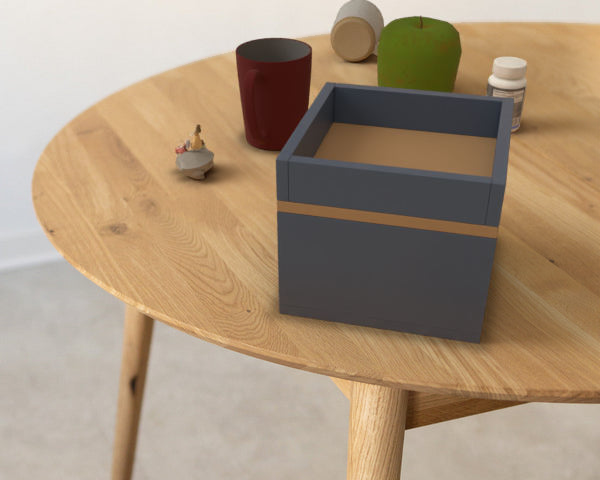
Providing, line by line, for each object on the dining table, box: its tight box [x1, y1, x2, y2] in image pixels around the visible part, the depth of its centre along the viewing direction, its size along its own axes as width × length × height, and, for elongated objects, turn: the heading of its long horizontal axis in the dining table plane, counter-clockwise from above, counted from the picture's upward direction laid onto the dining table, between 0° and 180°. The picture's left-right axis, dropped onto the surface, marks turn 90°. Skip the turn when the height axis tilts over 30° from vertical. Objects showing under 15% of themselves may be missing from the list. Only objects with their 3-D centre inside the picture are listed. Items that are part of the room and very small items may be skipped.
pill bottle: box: [485, 55, 528, 133], centre depth 97 cm, size 5×5×8 cm
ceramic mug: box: [330, 0, 385, 63], centre depth 120 cm, size 11×8×8 cm
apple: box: [376, 15, 463, 93], centre depth 105 cm, size 11×11×11 cm
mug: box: [235, 37, 313, 151], centre depth 93 cm, size 12×9×11 cm
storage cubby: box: [275, 81, 514, 345], centre depth 68 cm, size 17×17×14 cm
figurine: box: [174, 123, 215, 181], centre depth 87 cm, size 5×4×6 cm
